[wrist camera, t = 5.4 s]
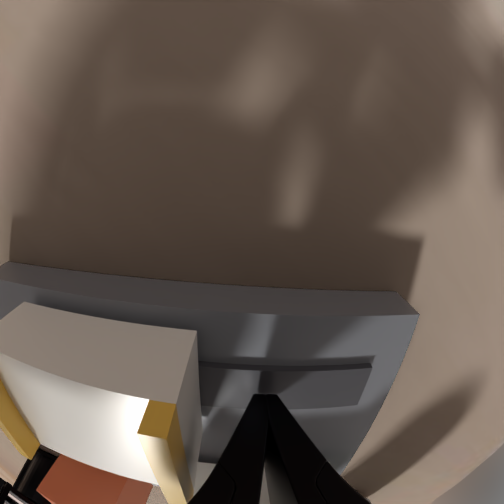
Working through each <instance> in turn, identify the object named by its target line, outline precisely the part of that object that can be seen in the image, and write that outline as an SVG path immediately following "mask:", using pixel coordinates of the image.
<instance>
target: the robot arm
mask: <svg viewBox="0 0 504 504" xmlns="http://www.w3.org/2000/svg"><path fill="white" fill-rule="evenodd" d="M56 460H57V458H56V457H54V456H52V455H50V454H48V453H46V452H44V451H42V450H40V449H37V451H36V453H35V455H34V456H33V458H32V460H30V459H27V461H26V463H25V464H24V466H23V468H22V470H21V472H20V474H19V475H18V477H17V479H16V481H15V483H14V485H13V487H12V485H11V484H10V483H8V482H6V481H4V480H3V479H1V478H0V504H4V502H5V503H6V504H18V503H17V502H15V501H14V500H13V499H11V498H10V497H9V496H8V493H10V494H11V495H13V496H14V497H15V498H17V499H18V500H19V501H21V502H22V503H24V504H52V503H50V502H49V501H48V500H47V499H46V498H45V497H43V496H42V495H41V494H40V493H39V492H38V491H37V490H36V489H37V488H38V486H39V485H40V483H41V482H42V480H43V479H44V477H45V476H46V474H47V473H48V471H49V470H50V468H51V467H52V466H53V464H54V463H55V461H56ZM326 461H327V459H326V458H325V457H324V456H323V454H322V453H321V452H320V451H319V449H318V448H317V447H316V446H315V444H314V443H313V442H312V440H311V439H310V438H309V437H308V435H307V434H306V433H305V431H304V430H303V429H302V427H301V426H300V425H299V423H298V422H297V421H296V419H295V418H294V417H293V415H292V414H291V413H290V411H289V410H288V409H287V407H286V406H285V405H284V403H283V402H282V400H281V399H280V398H279V396H278V395H277V394H253V396H252V398H251V400H250V402H249V404H248V405H247V407H246V409H245V411H244V413H243V415H242V417H241V419H240V421H239V423H238V425H237V427H236V429H235V431H234V433H233V434H232V436H231V438H230V440H229V442H228V444H227V446H226V447H225V449H224V451H223V453H222V455H221V456H220V458H219V460H218V463H216V465H215V467H214V469H213V470H212V472H211V473H210V475H209V477H208V478H207V480H206V481H205V483H204V484H203V485H202V487H201V488H200V489H199V490H198V492H197V493H196V494H195V495H194V496H193V498H192V499H191V500H190V501H189V502H188V503H187V504H259V503H260V495H261V487H262V479H263V471H264V468H265V475H266V481H267V488H268V494H269V501H270V504H371V503H370V502H369V501H368V500H366V499H365V498H364V497H363V496H362V495H360V494H359V493H358V492H357V491H356V490H355V489H354V488H352V487H351V486H350V485H349V484H348V483H347V482H346V481H345V480H344V479H343V478H342V477H341V476H340V475H339V474H338V472H337V471H336V470H335V469H334V468H333V467H332V465H331V464H330V463H329V462H328V461H327V462H326Z"/></svg>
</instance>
